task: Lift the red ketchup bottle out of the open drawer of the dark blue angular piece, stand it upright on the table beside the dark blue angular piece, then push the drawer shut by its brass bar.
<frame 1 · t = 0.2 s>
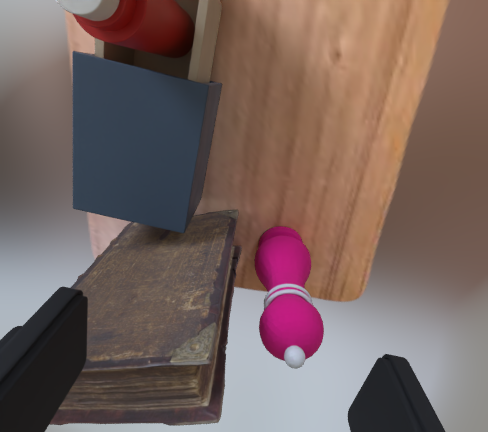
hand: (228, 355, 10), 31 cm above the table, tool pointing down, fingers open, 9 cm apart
drawer: (165, 12, 28), point 5 cm above the table, slide at 8.5 cm, touching ketchup bottle
ketchup bottle: (172, 32, 32), point 2 cm above the table, touching drawer
dark blue angular piece: (164, 134, 38), on the table
book: (182, 229, 43), on the table
pepper mill: (280, 244, 44), on the table
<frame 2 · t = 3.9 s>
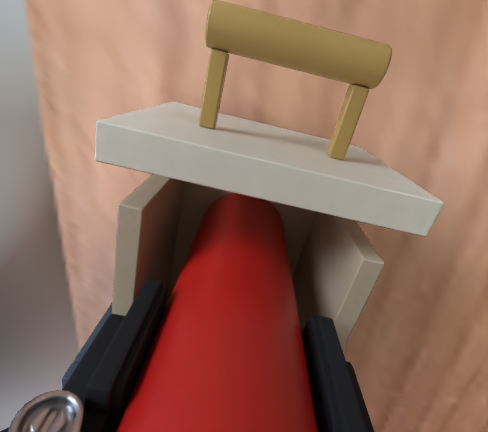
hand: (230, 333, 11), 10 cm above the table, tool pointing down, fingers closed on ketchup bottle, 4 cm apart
drawer: (244, 237, 15), point 5 cm above the table, slide at 8.5 cm, touching ketchup bottle
ketchup bottle: (242, 230, 18), point 2 cm above the table, touching drawer, gripper
dark blue angular piece: (212, 340, 24), on the table
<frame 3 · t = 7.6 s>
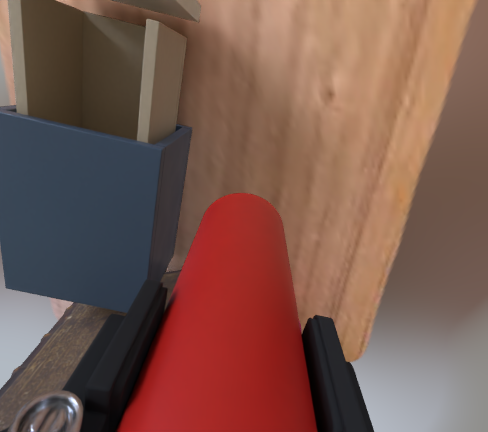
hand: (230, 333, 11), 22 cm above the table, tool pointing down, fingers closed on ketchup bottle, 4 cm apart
drawer: (111, 50, 22), point 5 cm above the table, slide at 8.5 cm
ketchup bottle: (241, 231, 18), point 14 cm above the table, touching gripper
dark blue angular piece: (127, 184, 32), on the table
book: (154, 286, 37), on the table
when the fingers open (8 cm above the table, at t = 11.1 s): ketchup bottle stays where it is, on the table.
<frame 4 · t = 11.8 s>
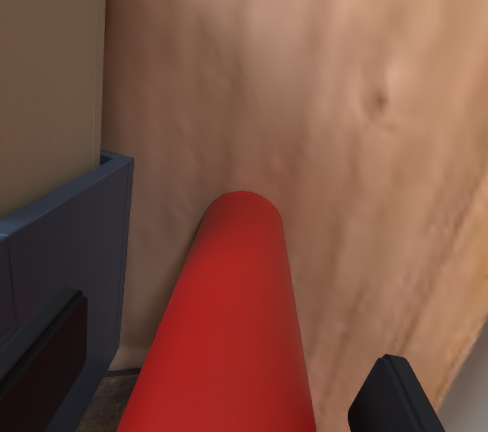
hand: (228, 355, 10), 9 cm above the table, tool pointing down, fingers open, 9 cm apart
ketchup bottle: (242, 228, 18), on the table
dark blue angular piece: (35, 247, 19), on the table
book: (94, 387, 25), on the table
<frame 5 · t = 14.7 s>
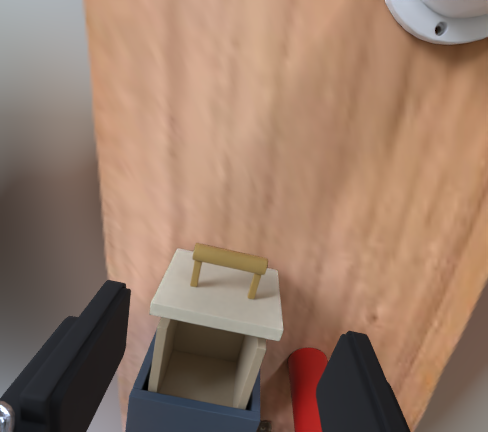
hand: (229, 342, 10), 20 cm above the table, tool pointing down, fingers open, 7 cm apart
drawer: (213, 323, 29), point 5 cm above the table, slide at 8.5 cm
ketchup bottle: (307, 361, 38), on the table
dark blue angular piece: (201, 367, 39), on the table
book: (214, 431, 44), on the table
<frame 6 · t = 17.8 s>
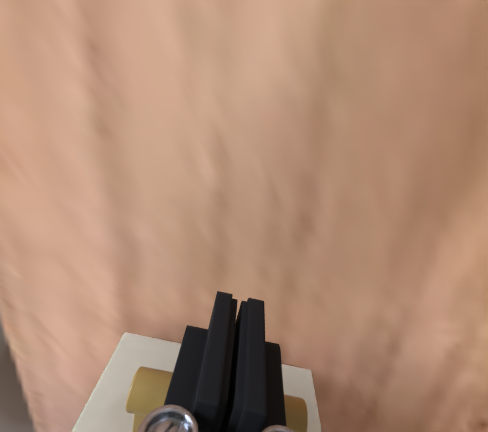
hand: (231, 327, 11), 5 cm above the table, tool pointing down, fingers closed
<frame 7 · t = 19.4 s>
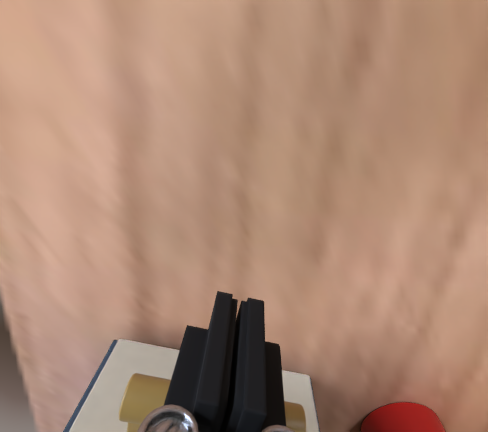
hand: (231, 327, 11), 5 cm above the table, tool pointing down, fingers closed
ketchup bottle: (399, 427, 19), on the table
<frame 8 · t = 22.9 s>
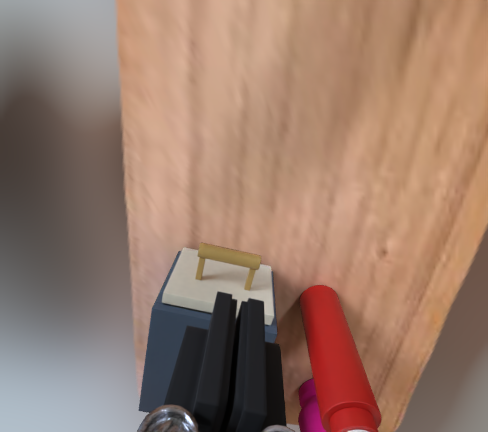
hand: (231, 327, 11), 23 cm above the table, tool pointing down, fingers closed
drawer: (215, 312, 34), point 5 cm above the table, slide at 0.0 cm, touching dark blue angular piece
ketchup bottle: (318, 300, 39), on the table
dark blue angular piece: (215, 307, 40), on the table
pepper mill: (319, 390, 46), on the table
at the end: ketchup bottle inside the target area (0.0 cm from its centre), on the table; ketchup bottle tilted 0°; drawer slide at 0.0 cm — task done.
